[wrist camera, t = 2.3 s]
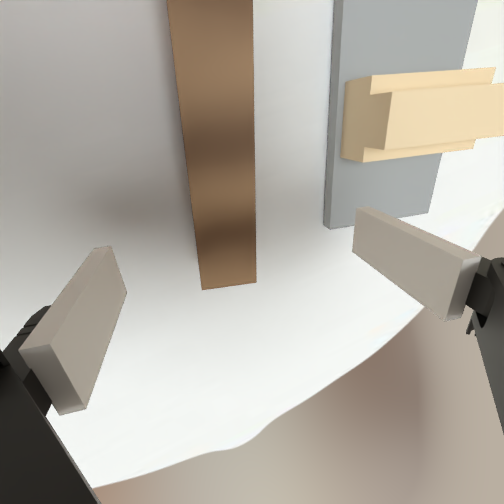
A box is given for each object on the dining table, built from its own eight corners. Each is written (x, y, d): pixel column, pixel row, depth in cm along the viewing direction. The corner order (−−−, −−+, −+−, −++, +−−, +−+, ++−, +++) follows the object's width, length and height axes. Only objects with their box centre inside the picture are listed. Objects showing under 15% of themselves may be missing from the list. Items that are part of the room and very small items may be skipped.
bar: (159, -67, 15) (148, -146, 10) (231, -59, 15) (250, -130, 11) (198, 258, 24) (201, 290, 19) (243, 253, 24) (256, 282, 20)
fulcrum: (335, -29, 17) (408, -99, 11) (469, -28, 18) (588, -89, 13) (323, 225, 25) (363, 254, 19) (418, 209, 26) (479, 232, 21)
